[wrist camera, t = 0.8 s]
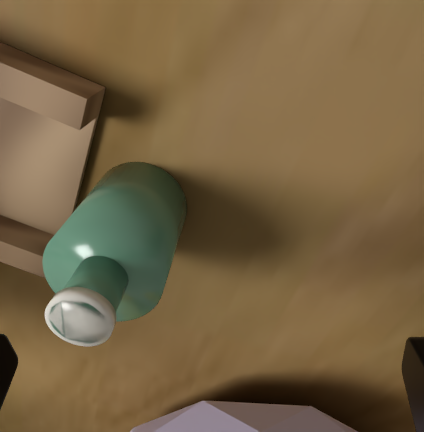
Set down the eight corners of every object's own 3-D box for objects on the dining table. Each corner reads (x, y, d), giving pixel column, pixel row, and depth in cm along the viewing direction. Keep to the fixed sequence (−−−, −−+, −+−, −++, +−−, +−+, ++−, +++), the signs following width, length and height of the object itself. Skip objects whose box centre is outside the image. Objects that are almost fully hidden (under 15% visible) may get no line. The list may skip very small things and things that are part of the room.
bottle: (200, 184, 21) (168, 299, 13) (169, 254, 23) (127, 385, 15) (109, 146, 20) (17, 243, 12) (87, 223, 22) (0, 342, 15)
